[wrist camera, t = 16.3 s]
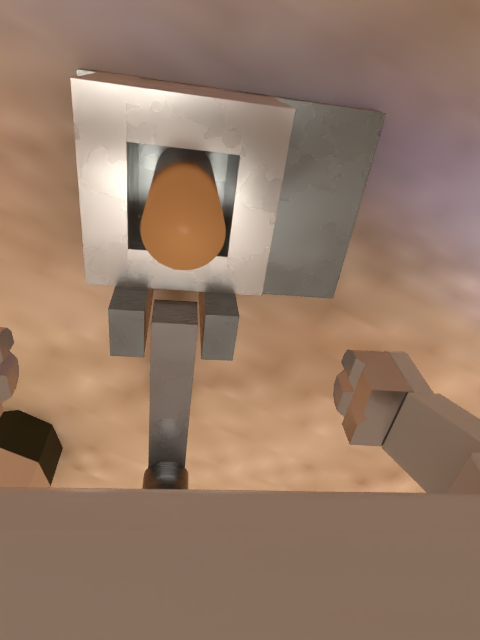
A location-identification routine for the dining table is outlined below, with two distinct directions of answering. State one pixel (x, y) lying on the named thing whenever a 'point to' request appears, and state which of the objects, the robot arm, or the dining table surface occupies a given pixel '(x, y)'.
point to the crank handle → (170, 392)
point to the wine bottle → (27, 451)
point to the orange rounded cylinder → (183, 211)
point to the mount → (233, 189)
